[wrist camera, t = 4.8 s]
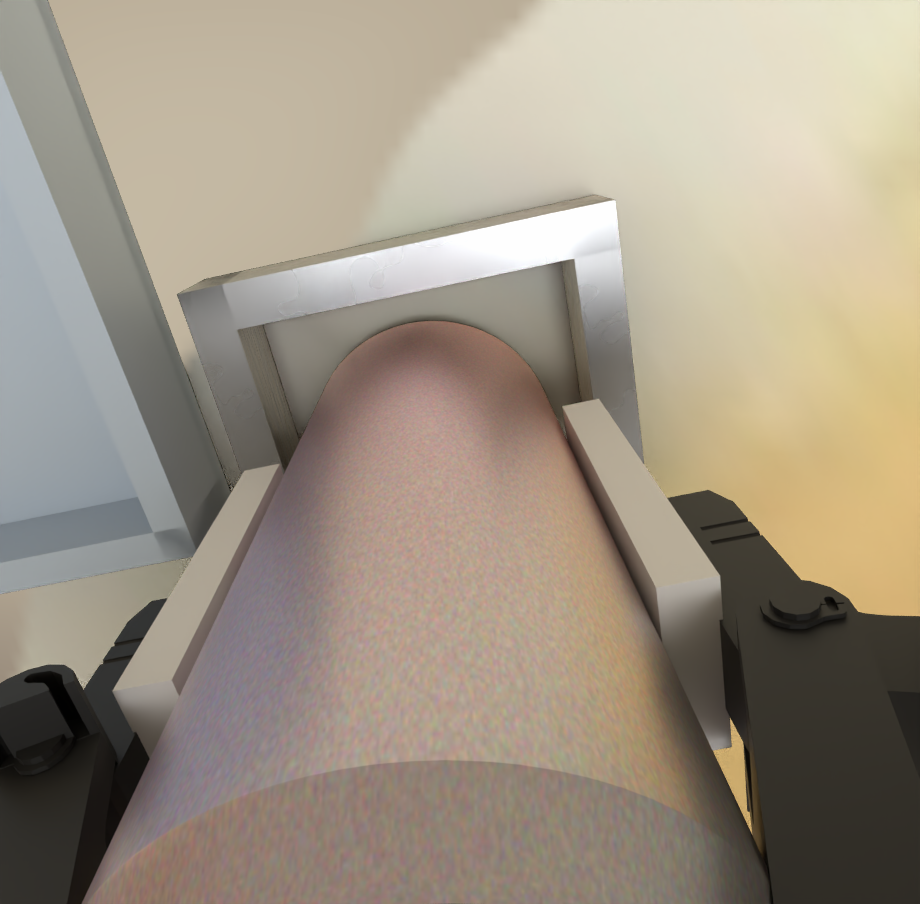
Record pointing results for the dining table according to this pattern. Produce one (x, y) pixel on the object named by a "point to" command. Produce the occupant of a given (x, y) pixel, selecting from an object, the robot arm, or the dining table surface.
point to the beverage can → (432, 677)
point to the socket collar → (406, 271)
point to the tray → (83, 346)
